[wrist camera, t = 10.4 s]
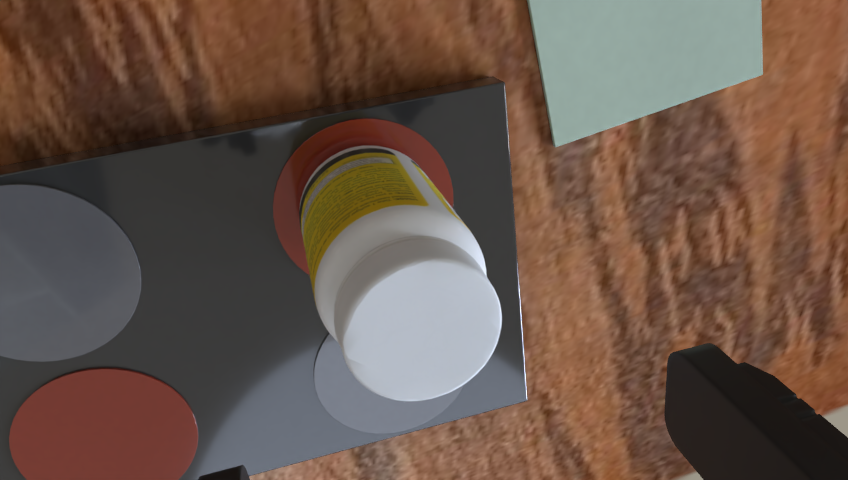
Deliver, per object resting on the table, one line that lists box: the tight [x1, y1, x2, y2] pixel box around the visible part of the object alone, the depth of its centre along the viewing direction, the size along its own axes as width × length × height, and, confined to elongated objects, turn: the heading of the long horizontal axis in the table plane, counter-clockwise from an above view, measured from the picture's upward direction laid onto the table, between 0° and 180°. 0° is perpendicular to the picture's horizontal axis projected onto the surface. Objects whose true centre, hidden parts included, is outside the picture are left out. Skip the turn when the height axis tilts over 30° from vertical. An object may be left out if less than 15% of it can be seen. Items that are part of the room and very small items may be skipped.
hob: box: [0, 76, 527, 480], centre depth 24 cm, size 14×22×1 cm, turn 97°
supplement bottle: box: [299, 146, 502, 401], centre depth 19 cm, size 5×5×8 cm
